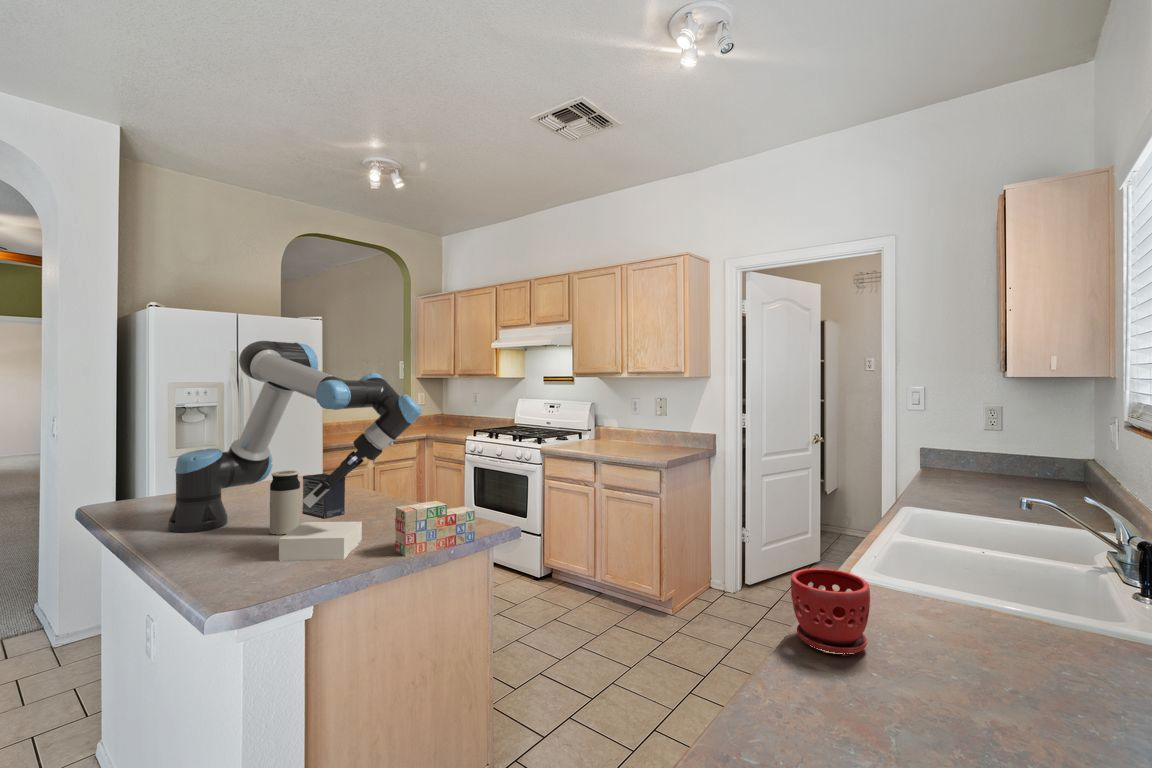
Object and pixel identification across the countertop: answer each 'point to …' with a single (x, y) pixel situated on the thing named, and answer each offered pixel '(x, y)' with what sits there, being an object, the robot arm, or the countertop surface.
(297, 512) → the travel mug
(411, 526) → the stack of blocks
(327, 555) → the cream block
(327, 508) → the small box
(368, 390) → the robot arm
